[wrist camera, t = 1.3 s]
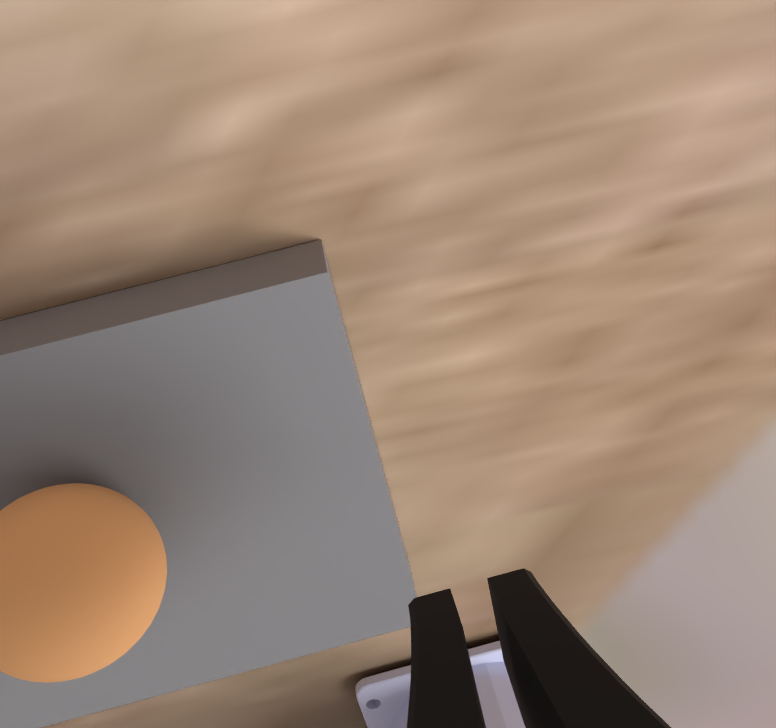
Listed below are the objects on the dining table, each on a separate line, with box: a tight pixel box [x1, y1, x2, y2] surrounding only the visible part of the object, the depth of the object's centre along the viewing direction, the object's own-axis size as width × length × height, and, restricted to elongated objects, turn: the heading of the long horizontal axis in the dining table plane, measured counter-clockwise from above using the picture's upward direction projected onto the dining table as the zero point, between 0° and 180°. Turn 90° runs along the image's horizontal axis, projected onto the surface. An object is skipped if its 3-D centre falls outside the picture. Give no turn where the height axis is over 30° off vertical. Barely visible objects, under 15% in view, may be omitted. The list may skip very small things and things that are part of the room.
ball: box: [0, 483, 167, 683], centre depth 14 cm, size 4×4×4 cm
